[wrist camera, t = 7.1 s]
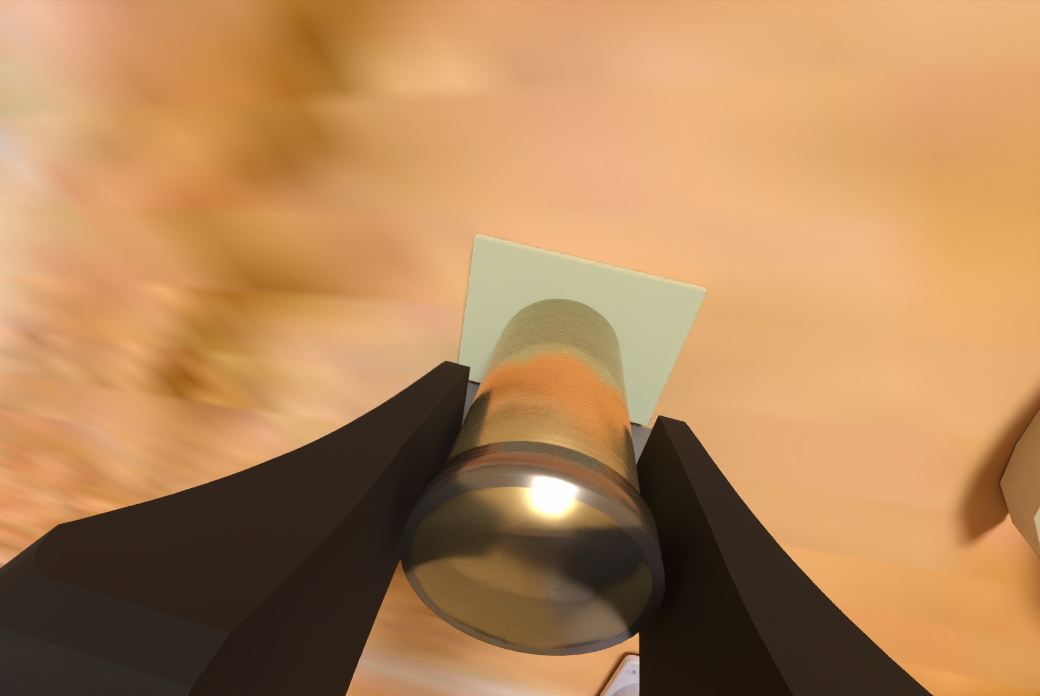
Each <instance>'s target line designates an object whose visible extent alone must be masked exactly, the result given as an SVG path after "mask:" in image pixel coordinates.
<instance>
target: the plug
mask: <svg viewBox="0 0 1040 696" xmlns="http://www.w3.org/2000/svg"><path fill="white" fill-rule="evenodd" d="M400 557H401V562H402V567H403V570H404V572H405V575H406V577H407V579H408V581H409V583H410V585H411V586H412V588H413V590H414V591H415V592H416V594H417V595H418V596H419V598H420V599H421V600H422V601H423V602H424V603H425V604H426V605H427V606H428V607H429V608H430V609H431V610H432V611H433V612H434V613H435V614H437V615H438V616H439V617H440V618H442V619H443V620H444V621H446V622H447V623H449V624H450V625H452V626H453V627H455V628H457V629H458V630H460V631H462V632H464V633H466V634H468V635H470V636H472V637H474V638H476V639H478V640H481V641H483V642H486V643H489V644H491V645H495V646H498V647H501V648H504V649H508V650H513V651H517V652H522V653H529V654H536V655H549V656H566V655H578V654H585V653H591V652H596V651H599V650H603V649H607V648H609V647H612V646H615V645H617V644H620V643H622V642H624V641H625V640H627V639H629V638H631V637H633V636H634V635H635V634H637V633H638V632H640V631H641V630H642V629H643V628H644V627H645V626H646V625H647V624H648V623H649V622H650V621H651V620H652V619H653V617H654V616H655V614H656V613H657V612H658V610H659V607H660V605H661V603H662V601H663V596H664V592H665V573H664V567H663V562H662V556H661V550H660V544H659V538H658V532H657V527H656V522H655V520H654V517H653V515H652V512H651V510H650V508H649V506H648V505H647V503H646V501H645V500H644V498H643V497H642V496H641V494H640V489H639V482H638V475H637V468H636V461H635V453H634V446H633V439H632V432H631V425H630V418H629V410H628V403H627V396H626V389H625V382H624V375H623V367H622V360H621V353H620V347H619V342H618V339H617V336H616V333H615V332H614V330H613V328H612V326H611V325H610V324H609V322H608V321H607V320H606V319H605V318H604V317H603V316H602V315H601V314H600V313H598V312H597V311H596V310H594V309H593V308H591V307H589V306H587V305H585V304H583V303H580V302H577V301H573V300H567V299H547V300H543V301H539V302H536V303H533V304H531V305H529V306H527V307H525V308H523V309H522V310H520V311H519V312H518V313H517V314H516V315H514V316H513V317H512V319H511V320H510V321H509V322H508V324H507V325H506V327H505V329H504V331H503V333H502V335H501V338H500V340H499V342H498V345H497V347H496V349H495V351H494V354H493V356H492V358H491V361H490V363H489V365H488V368H487V370H486V372H485V374H484V377H483V379H482V381H481V384H480V386H479V388H478V390H477V393H476V395H475V397H474V400H473V402H472V404H471V407H470V409H469V411H468V413H467V416H466V418H465V420H464V423H463V425H462V427H461V429H460V432H459V434H458V436H457V439H456V441H455V443H454V446H453V448H452V450H451V452H450V455H449V457H448V459H447V461H446V462H445V463H444V464H442V465H441V466H440V467H438V468H437V469H436V471H435V472H434V473H433V474H432V475H431V476H430V477H429V479H428V480H427V482H426V483H425V485H424V487H423V489H422V491H421V493H420V495H419V497H418V499H417V501H416V503H415V506H414V508H413V510H412V512H411V514H410V516H409V518H408V520H407V523H406V525H405V527H404V530H403V533H402V537H401V542H400Z"/></svg>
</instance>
